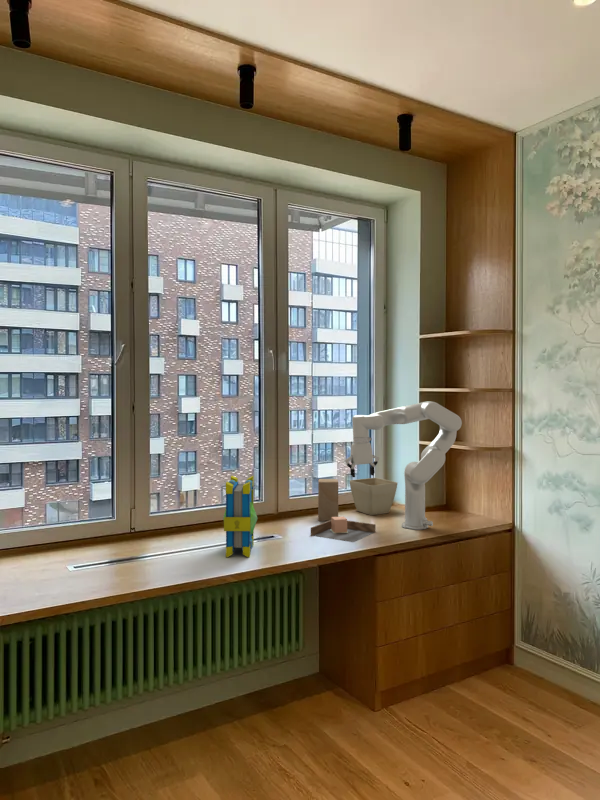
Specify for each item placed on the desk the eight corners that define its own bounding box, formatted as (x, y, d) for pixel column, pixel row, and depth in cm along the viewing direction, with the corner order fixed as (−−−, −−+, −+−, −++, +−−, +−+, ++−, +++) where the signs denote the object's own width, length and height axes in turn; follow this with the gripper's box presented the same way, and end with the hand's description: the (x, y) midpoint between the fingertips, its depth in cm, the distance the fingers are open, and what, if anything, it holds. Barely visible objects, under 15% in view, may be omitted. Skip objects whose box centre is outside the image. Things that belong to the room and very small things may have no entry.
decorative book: (219, 558, 244) (219, 483, 243) (227, 543, 267) (227, 474, 266) (255, 558, 244) (255, 483, 243) (259, 543, 267) (259, 474, 266)
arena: (375, 532, 286) (375, 524, 286) (353, 543, 268) (353, 534, 268) (334, 526, 298) (334, 518, 298) (310, 536, 280) (310, 527, 279)
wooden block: (338, 521, 310) (338, 481, 309) (318, 521, 310) (318, 481, 310) (337, 517, 320) (337, 478, 319) (318, 516, 320) (318, 478, 320)
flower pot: (398, 513, 329) (398, 482, 329) (370, 517, 319) (370, 485, 319) (375, 507, 345) (375, 477, 345) (348, 511, 335) (348, 480, 335)
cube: (343, 529, 291) (343, 516, 291) (347, 532, 285) (347, 519, 285) (331, 529, 290) (331, 517, 290) (334, 532, 284) (334, 519, 284)
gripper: (375, 438, 301) (376, 473, 302) (341, 441, 297) (343, 476, 298) (380, 440, 294) (382, 475, 295) (346, 442, 290) (348, 478, 290)
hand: (362, 476), depth 296 cm, fingers open, 9 cm apart
